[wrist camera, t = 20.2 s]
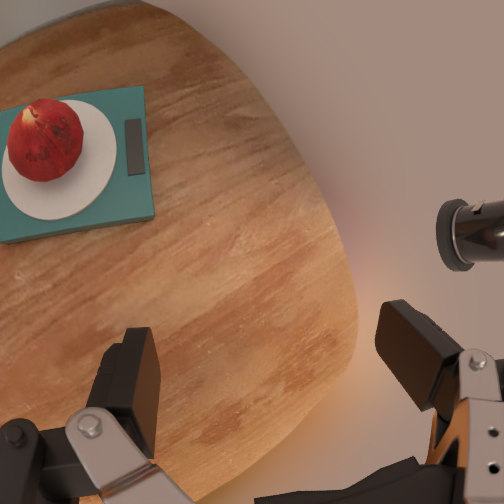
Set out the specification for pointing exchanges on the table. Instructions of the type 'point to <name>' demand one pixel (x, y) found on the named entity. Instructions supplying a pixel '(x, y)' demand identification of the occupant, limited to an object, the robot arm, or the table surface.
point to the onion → (45, 140)
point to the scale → (83, 172)
